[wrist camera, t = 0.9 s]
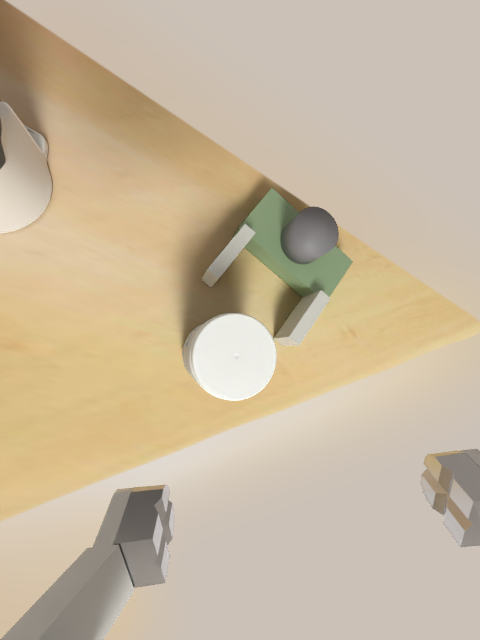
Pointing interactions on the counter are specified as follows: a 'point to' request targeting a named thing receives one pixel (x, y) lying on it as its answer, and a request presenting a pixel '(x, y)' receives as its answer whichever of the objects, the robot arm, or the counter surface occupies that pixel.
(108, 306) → the counter surface
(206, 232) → the counter surface
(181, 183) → the counter surface
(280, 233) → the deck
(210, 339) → the supplement tub
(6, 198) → the robot arm
